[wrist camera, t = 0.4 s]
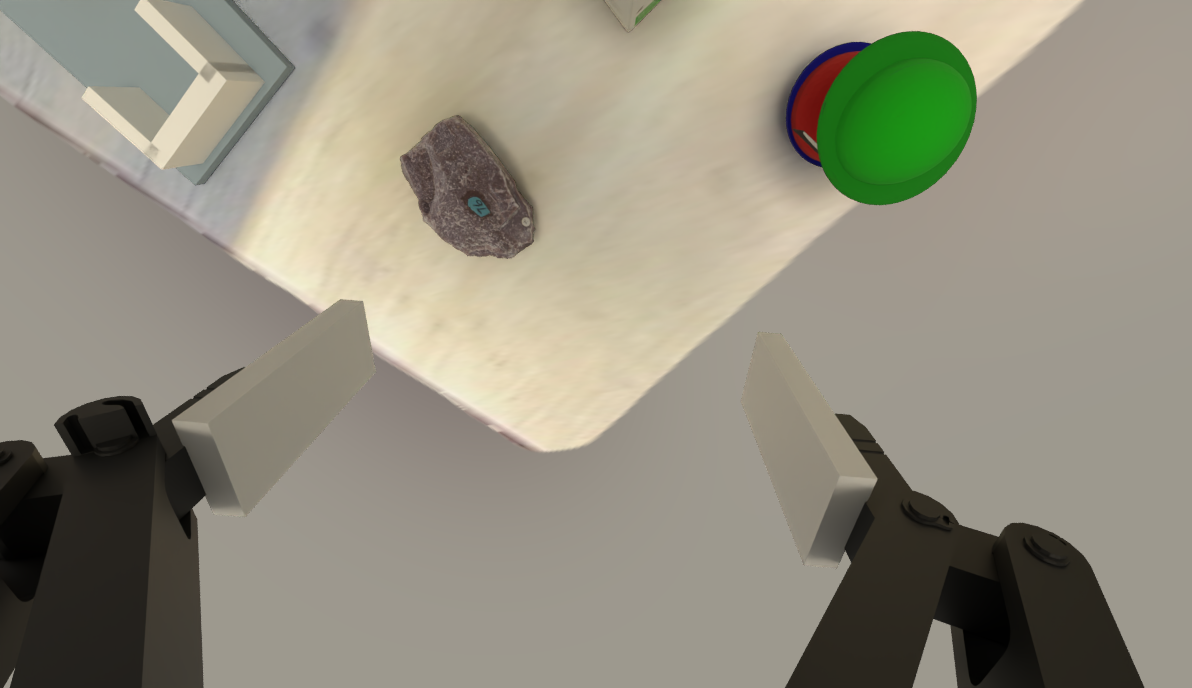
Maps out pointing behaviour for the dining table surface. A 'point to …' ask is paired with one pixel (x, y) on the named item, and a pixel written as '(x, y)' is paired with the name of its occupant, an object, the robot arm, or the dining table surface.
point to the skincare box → (631, 11)
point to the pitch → (147, 54)
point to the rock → (467, 192)
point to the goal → (203, 105)
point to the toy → (884, 114)
